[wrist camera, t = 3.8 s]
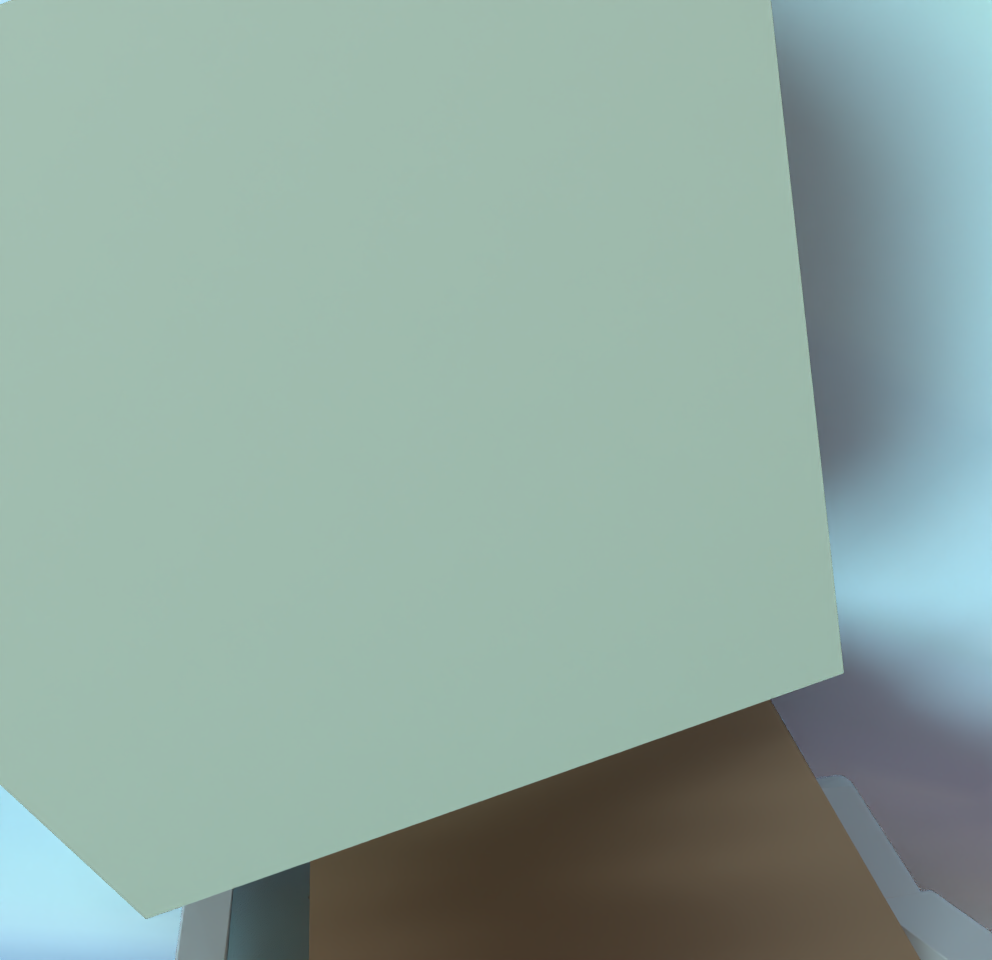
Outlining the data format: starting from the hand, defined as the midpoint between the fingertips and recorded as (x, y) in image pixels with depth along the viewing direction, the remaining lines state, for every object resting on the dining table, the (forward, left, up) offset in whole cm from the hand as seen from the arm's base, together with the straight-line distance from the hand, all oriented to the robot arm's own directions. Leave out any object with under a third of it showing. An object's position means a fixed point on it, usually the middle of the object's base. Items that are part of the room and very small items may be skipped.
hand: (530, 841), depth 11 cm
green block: (+2, -7, -2) cm, 7 cm away
